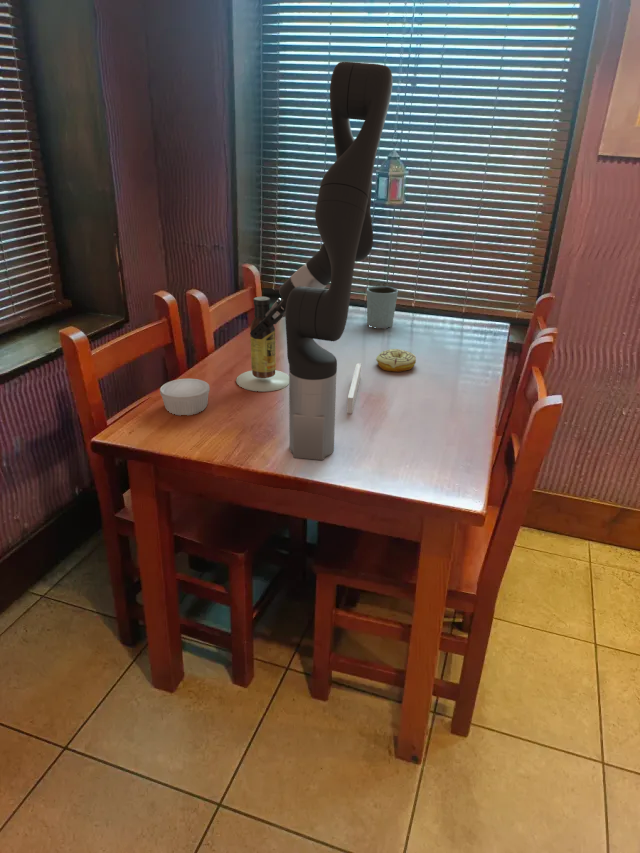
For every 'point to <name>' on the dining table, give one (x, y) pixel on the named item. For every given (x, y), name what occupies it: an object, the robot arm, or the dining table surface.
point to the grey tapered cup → (381, 306)
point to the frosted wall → (354, 388)
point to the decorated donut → (396, 360)
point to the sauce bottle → (263, 342)
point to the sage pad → (263, 382)
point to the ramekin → (185, 396)
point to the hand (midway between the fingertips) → (256, 331)
